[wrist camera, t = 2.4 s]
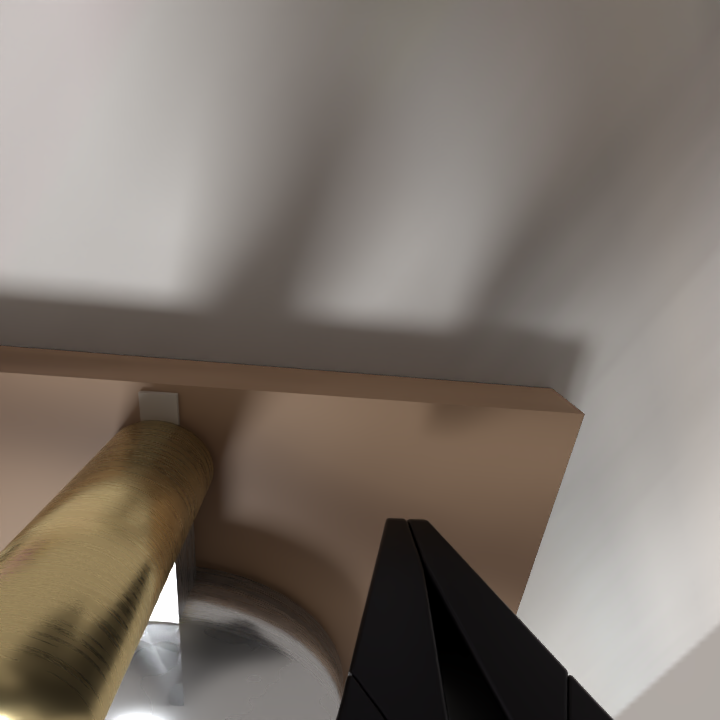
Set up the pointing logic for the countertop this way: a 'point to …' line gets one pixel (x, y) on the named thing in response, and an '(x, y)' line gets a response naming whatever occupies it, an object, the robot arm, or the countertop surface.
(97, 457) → the dial
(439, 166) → the countertop surface
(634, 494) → the countertop surface
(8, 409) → the dial panel
